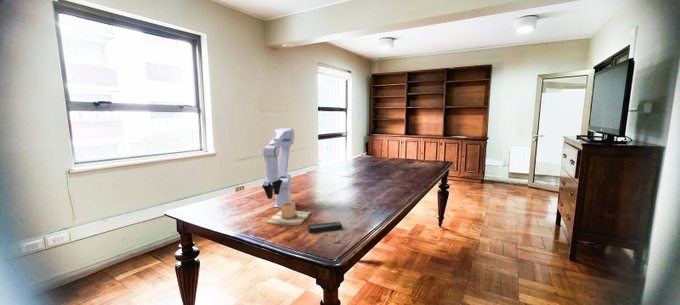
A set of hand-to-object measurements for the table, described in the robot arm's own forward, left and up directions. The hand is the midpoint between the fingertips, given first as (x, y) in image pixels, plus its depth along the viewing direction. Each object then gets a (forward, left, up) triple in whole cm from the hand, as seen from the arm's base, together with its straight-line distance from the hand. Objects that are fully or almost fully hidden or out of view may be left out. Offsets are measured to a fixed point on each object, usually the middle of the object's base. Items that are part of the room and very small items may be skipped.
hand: (273, 196), depth 143 cm
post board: (+4, +10, -9) cm, 14 cm away
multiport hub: (+13, +31, -10) cm, 35 cm away
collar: (+4, +10, -8) cm, 13 cm away
